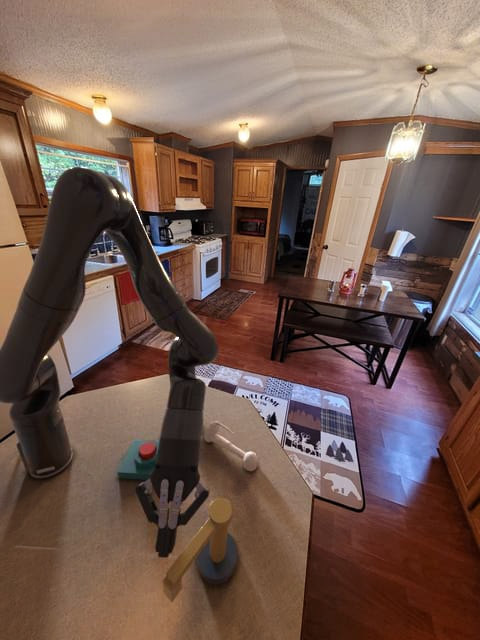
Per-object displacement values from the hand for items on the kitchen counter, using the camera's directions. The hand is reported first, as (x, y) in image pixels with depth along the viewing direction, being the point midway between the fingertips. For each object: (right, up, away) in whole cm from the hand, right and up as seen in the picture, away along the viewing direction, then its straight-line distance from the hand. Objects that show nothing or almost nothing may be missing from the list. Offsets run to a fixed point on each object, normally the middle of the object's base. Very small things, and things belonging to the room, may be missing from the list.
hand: (164, 555), depth 40 cm
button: (-13, +1, +28) cm, 31 cm away
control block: (-13, -2, +30) cm, 32 cm away
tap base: (+7, -11, +11) cm, 18 cm away
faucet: (+9, -2, +34) cm, 35 cm away
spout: (+5, -3, +3) cm, 7 cm away
